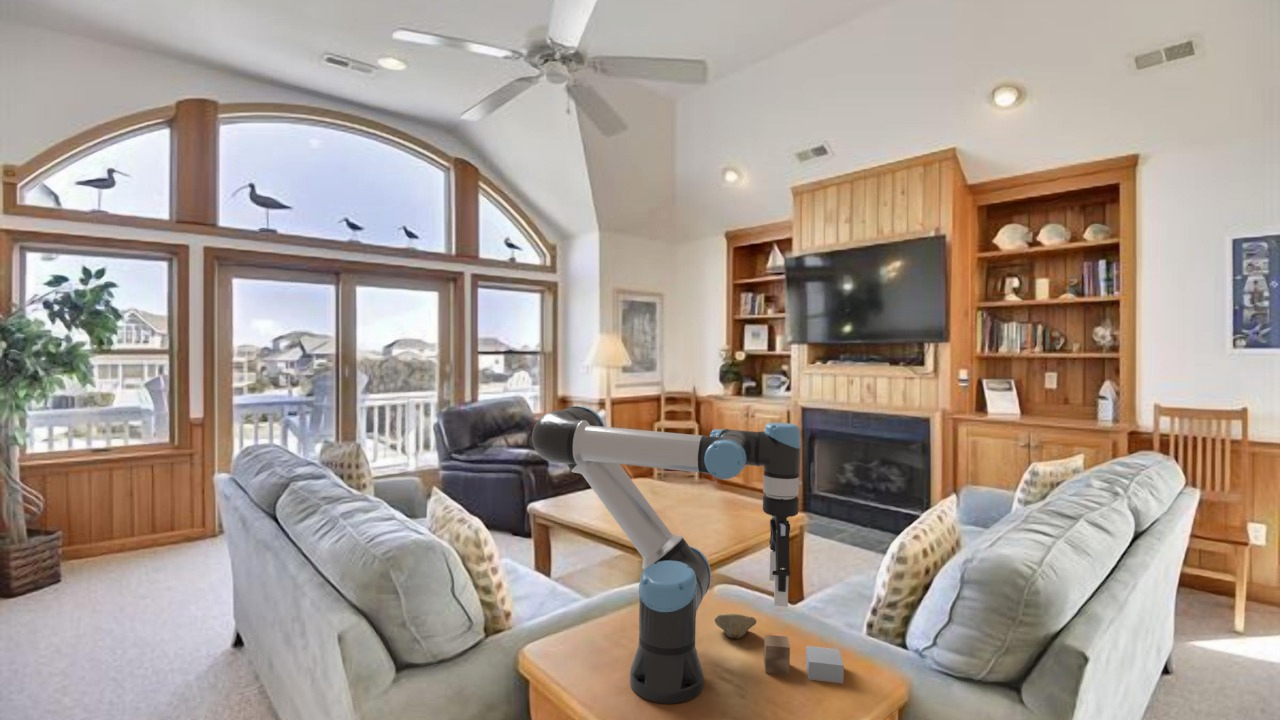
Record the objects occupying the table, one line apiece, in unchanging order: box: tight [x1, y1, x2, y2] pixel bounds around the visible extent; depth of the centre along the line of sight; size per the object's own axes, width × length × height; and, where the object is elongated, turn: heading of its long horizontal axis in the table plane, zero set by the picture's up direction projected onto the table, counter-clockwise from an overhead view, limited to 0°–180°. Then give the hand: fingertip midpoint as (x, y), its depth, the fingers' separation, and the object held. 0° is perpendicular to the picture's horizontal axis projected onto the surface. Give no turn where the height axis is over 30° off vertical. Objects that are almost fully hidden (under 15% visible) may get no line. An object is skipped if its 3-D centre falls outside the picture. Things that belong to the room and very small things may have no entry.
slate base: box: [805, 645, 845, 684], centre depth 128 cm, size 7×7×4 cm
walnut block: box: [763, 634, 791, 676], centre depth 130 cm, size 5×5×6 cm
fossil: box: [714, 613, 757, 640], centre depth 143 cm, size 9×4×10 cm
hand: (777, 592), depth 130 cm, fingers open, 13 cm apart
